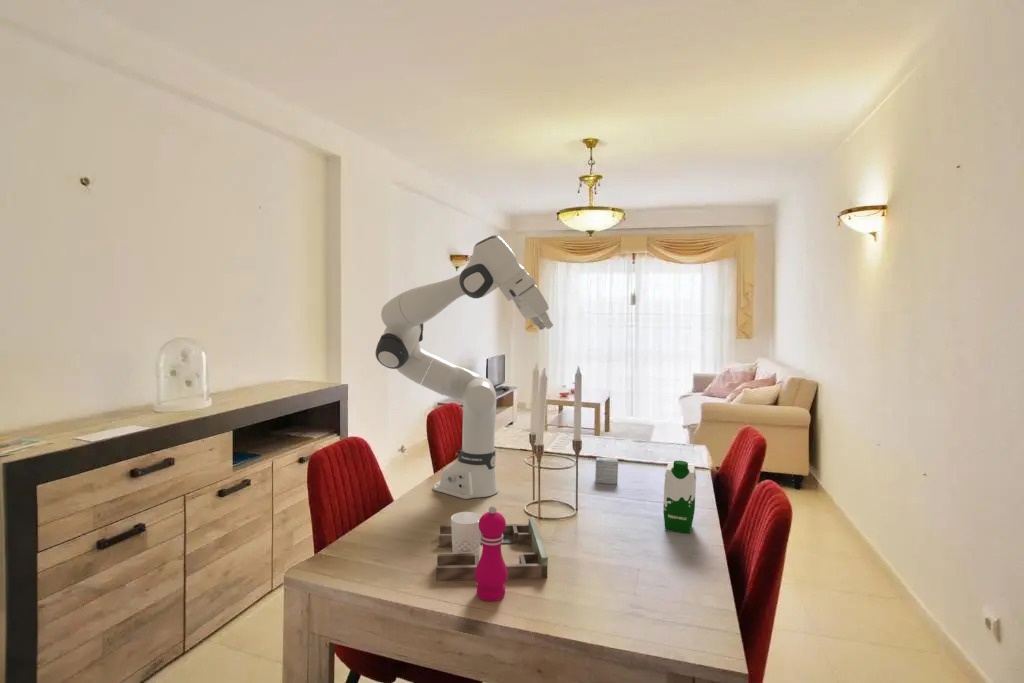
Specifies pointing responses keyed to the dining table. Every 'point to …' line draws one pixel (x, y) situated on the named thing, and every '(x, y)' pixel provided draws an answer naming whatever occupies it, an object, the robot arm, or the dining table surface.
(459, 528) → the white cup
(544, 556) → the organizer tray
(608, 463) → the medicine box
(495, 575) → the pepper mill
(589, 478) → the dining table surface
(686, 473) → the milk carton
